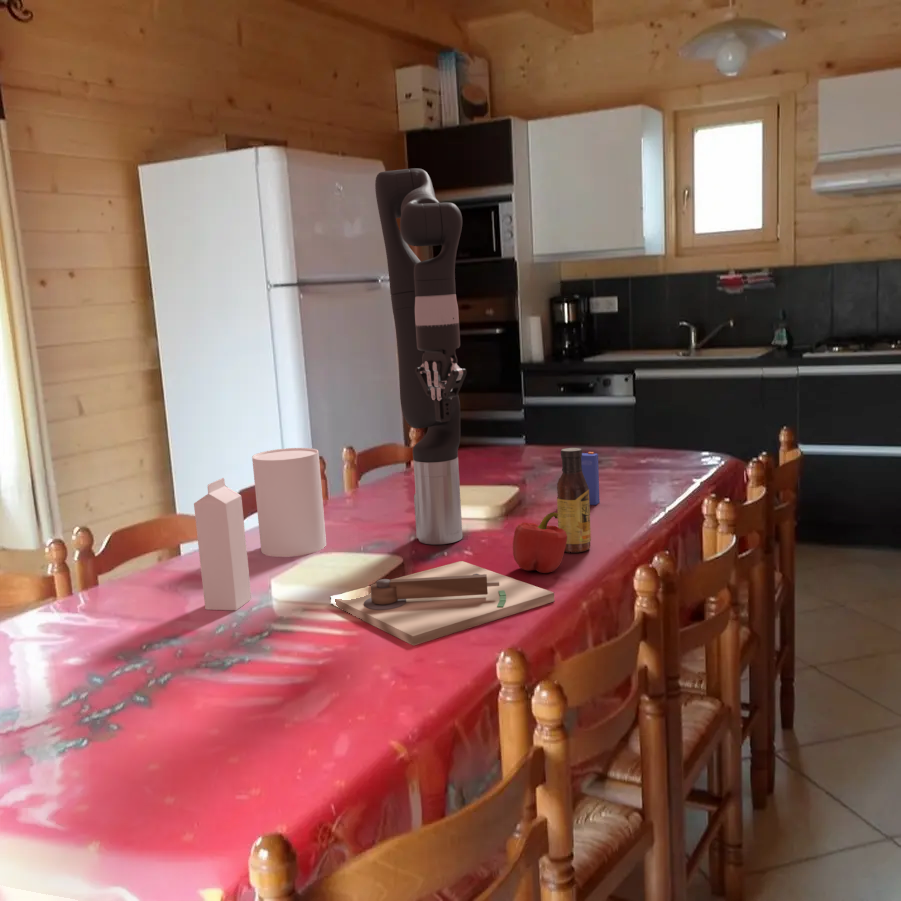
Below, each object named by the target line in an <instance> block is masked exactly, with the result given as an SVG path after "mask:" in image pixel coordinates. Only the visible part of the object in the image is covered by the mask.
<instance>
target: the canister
mask: <svg viewBox="0 0 901 901" xmlns="http://www.w3.org/2000/svg"><path fill="white" fill-rule="evenodd" d="M251 461H252V470H253V480H254V490H255V491H254V492H255V500H256V502H255V503H256V511H257V520H258V522H257V523H258V530H259V532H258V533H259V541H260V542H259V544H260V551H261V554H263V555H265V556H268V557H275V558H276V557H277V558H288V557H289V558H291V557H301V556H305V555H311V554H314V553H317V552H320V551H321V549H322V550H323V549H325V548H326V547H327V538H326V537H327V536H326V524H325V512H324V501H323V500H324V499H323V490H322V488H323V487H322V476H321V466H320V454H319V450H318V449H317V448H313V447H311V448H310V447H291V448H290V447H288V448H278V449H272V450H270V449H269V450H265V451H262V452H261V451H260V452H258V453H255V454H253V455H252V457H251ZM325 546H326V547H325ZM324 547H325V548H324Z"/></svg>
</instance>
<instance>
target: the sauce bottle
mask: <svg viewBox="0 0 901 901" xmlns="http://www.w3.org/2000/svg"><path fill="white" fill-rule="evenodd" d="M582 453H583V450H582V448H579V447H568V448H562V449H561V450H560V457H561V458H560V459H561V464H562V466H561V471H562V474H561V475H560V478H558V481H557V483H556V485H557V486H556V490H557V497H556V501H557V502H556V503H557V504H556V505H557V506H556V507H557V514H558V518H557V527H558V528H562V529H563V530H564V531H565V532H566V534H567V542H566V547H565V551H564V553H570V552H571V553H578V554H579V553H582V552H587V551H588V550H590V548H591V540H592V539H591V538H592V534H591V532H592V531H591V508H590V507H591V505H590V502H589V488H588V485H587V483H586V480H585V478H584V475H583V472H582V465H581V457H582Z"/></svg>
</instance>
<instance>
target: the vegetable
mask: <svg viewBox="0 0 901 901" xmlns="http://www.w3.org/2000/svg"><path fill="white" fill-rule="evenodd" d="M552 518H554V519H557V520H558V512H554V511H553V512H549V513H548V514H546V516H544V517H543V519H542V520H541V521H540V524H537V523H534V522H521V523H519V524H517V526H516V527H515V529H514V534H513V540H512V555H513V559H514V561H515V563H516V565H518V567H519V568H521V569H522V570H524V571H537V572H539V573H540V574H542V573H543V574H549V573H552V572H555V570H557V569H558V568H559V567H560V565H561V563H562V561H563V559H564V554H565V552H564V551H565V547H566V542H567V534H566V532H565V531H564V530H563V529H562V528H558V526H557V525H548V523H549V522H550V520H551V519H552Z"/></svg>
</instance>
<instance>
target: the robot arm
mask: <svg viewBox="0 0 901 901" xmlns="http://www.w3.org/2000/svg"><path fill="white" fill-rule="evenodd" d="M374 186H375V187H374V188H375V189H374V190H375V198H376V205H377V210H378V214H379V219H380V220H379V221H380V225H381V230H382V238H383V242H384V247H385V253H386V261H387V262H386V263H387V270H388V280H389V293H390V301H391V306H392V314H393V321H394V326H395V327H394V328H395V335H396V344H397V345H396V346H397V354H398V355H397V356H398V372H399V373H398V375H399V398H400V399H399V400H400V406H401V412H402V415H403V417H404V420H405V421H406V423H407V424H408V425H409V426H410V427H411V428H414V429H424V428H427V431H426V433H425V435H424V436H423V437H422V438H421V439H420V440H419V441H418V442H417V443H416V444H414V446H413V448H412V459H413V460H412V461H413V463H412V464H413V472H414V473H413V474H414V488H415V489H414V490H415V493H414V494H413V502H414V515H415V518H414V519H415V530H416V531H415V532H416V534H415V535H416V538H417V539H418V541H419V542H420V543H422V544H425V545H447V544H452V543H456V542H458V541H461V540H462V539H463V522H462V504H461V500H462V499H461V487H460V485H461V484H460V471H459V470H460V469H459V454H458V452H459V450H458V449H459V447H460V444H461V401H460V397H459V394H460V391H461V388H462V386H463V384H464V381H465V379H466V376H467V373H468V372H467V368H461V367H460V366H459V365H458V357H457V354H456V350H457V349H459V348H460V347H461V334H460V319H459V316H460V315H459V306H458V301H457V294H456V279H455V278H456V273H455V272H456V270H455V269H456V259H457V251H458V246H459V243H460V237H461V235H462V234H461V233H462V229H463V228H462V227H463V216H462V212H461V210H460V209H459V207H458V206H457V205H456V204H455V203H453V202H440V201H439V200H438V199H437V198H436V193H435V189H434V187H433V182H432V179H431V177H430V175H429V174H428V172H427V171H426V170H424V169H422V168H415V167H414V168H404V169H396V170H393V169H392V170H385V171H384V170H383V171H380V172H379V173H378V174H377V175H376V177H375V184H374ZM397 219H400V220H399V221H400V222H399V225H398V222H397V221H398V220H397ZM411 246H412V247H431V246H432V247H433V246H441V250H440V251H439V253H438V255H436V256H435V257H432V258H429V259H425V260H420V259H419V258H418V256H417V255H416V253H415V252H414V251H413V250H412V249H411Z"/></svg>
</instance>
